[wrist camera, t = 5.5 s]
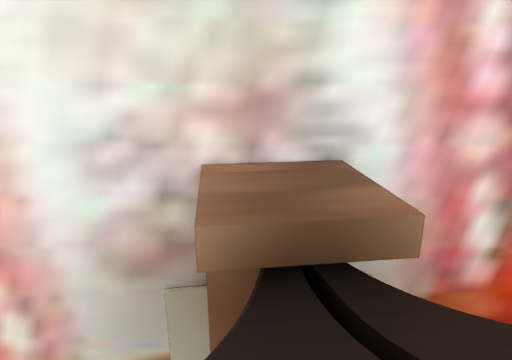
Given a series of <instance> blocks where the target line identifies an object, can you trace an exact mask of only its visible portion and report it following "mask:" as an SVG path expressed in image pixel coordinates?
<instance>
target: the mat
mask: <svg viewBox="0 0 512 360" xmlns="http://www.w3.org/2000/svg"><path fill="white" fill-rule="evenodd" d="M368 275H369V276H371V275H370V274H368ZM371 277H372V276H371ZM164 294H165V305H166V316H167V327H168V337H169V348H170V359H171V360H204V359H205V358H206V357H207V356H208V355H209V354H210V339H209V320H208V300H207V286H197V287H183V288H169V289H165V291H164Z"/></svg>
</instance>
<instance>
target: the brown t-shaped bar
mask: <svg viewBox="0 0 512 360" xmlns="http://www.w3.org/2000/svg"><path fill="white" fill-rule="evenodd" d="M424 220H425V215H424V214H423V213H421V212H420V211H418V210H417V209H415V208H414V207H412V206H411V205H409V204H408V203H406V202H405V201H403V200H402V199H400V198H398V197H397V196H395V195H394V194H392V193H391V192H389V191H388V190H386V189H385V188H383V187H382V186H380V185H379V184H377V183H376V182H374V181H372V180H371V179H369V178H368V177H366V176H365V175H363V174H362V173H360V172H359V171H357V170H356V169H354V168H353V167H351V166H350V165H348V164H347V163H345V162H343V161H342V160H341V161H311V162H281V163H250V164H220V165H202V169H201V177H200V186H199V194H198V202H197V211H196V219H195V243H196V260H197V272H206V281H207V300H208V320H209V339H210V353H211V352H212V351H213V350H214V349H215V348H216V346H217V345H218V344H219V343H220V342H221V340H222V339H223V338H224V337H225V336H226V334H227V333H228V332H229V331H230V329H231V328H232V327H233V325H234V324H235V322H236V321H237V319H238V317H239V316H240V314H241V312H242V311H243V309H244V307H245V306H246V304H247V302H248V300H249V298H250V296H251V294H252V291H253V289H254V286H255V284H256V281H257V278H258V275H259V272H260V268H269V267H284V266H299V265H314V264H329V263H344V262H359V261H374V260H389V259H404V258H419V255H420V248H421V241H422V234H423V227H424Z"/></svg>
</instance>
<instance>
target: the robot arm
mask: <svg viewBox="0 0 512 360" xmlns="http://www.w3.org/2000/svg"><path fill="white" fill-rule="evenodd" d="M204 360H512V325H511V324H506V323H502V322H498V321H494V320H490V319H486V318H483V317H479V316H475V315H471V314H468V313H464V312H461V311H457V310H454V309H451V308H448V307H445V306H442V305H439V304H436V303H433V302H430V301H427V300H424V299H422V298H419V297H416V296H414V295H411V294H409V293H406V292H404V291H402V290H399V289H397V288H395V287H392V286H390V285H388V284H385V283H383V282H381V281H379V280H377V279H375V278H373V277H371V276H369V275H368V274H366V273H364V272H362V271H360V270H358V269H356V268H355V267H353V266H351V265H349V264H348V263H346V262H344V263H329V264H314V265H299V266H284V267H269V268H260V272H259V275H258V278H257V281H256V284H255V286H254V289H253V291H252V294H251V296H250V298H249V300H248V302H247V304H246V306H245V307H244V309H243V311H242V312H241V314H240V316H239V317H238V319H237V321H236V322H235V324H234V325H233V327H232V328H231V329H230V331H229V332H228V333H227V334H226V336H225V337H224V338H223V339H222V340H221V342H220V343H219V344H218V345H217V346H216V348H215V349H214V350H213V351H212V352H211V353H210V354H209V355H208V356H207V357H206V358H205V359H204Z"/></svg>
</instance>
